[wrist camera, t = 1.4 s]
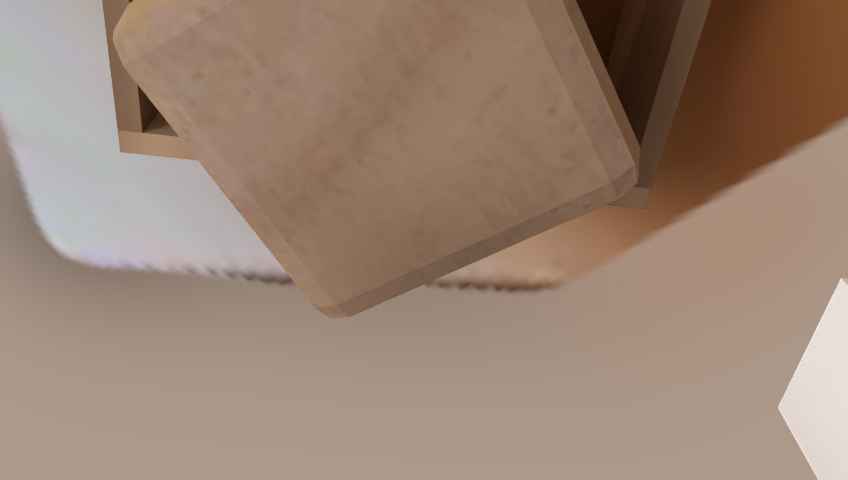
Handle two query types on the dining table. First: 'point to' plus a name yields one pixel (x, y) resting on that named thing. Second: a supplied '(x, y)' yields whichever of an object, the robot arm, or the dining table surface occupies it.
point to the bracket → (627, 68)
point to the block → (386, 127)
